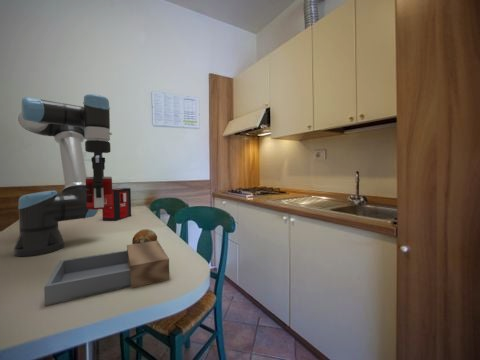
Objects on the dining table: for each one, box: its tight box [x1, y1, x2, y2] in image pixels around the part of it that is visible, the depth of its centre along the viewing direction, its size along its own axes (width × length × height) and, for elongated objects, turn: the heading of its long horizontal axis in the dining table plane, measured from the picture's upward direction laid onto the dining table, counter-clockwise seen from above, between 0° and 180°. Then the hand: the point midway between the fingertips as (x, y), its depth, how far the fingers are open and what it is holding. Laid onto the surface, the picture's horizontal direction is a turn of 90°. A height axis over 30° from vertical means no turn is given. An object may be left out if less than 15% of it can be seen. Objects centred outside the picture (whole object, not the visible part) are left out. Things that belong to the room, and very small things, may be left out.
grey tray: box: [43, 249, 131, 306], centre depth 65 cm, size 18×18×4 cm
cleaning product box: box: [101, 187, 132, 222], centre depth 154 cm, size 16×9×20 cm, turn 172°
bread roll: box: [131, 228, 158, 244], centre depth 99 cm, size 10×10×8 cm
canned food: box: [86, 176, 113, 210], centre depth 80 cm, size 8×8×11 cm
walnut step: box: [126, 240, 170, 289], centre depth 72 cm, size 10×20×6 cm, turn 29°
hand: (99, 205), depth 81 cm, fingers closed on canned food, 8 cm apart
